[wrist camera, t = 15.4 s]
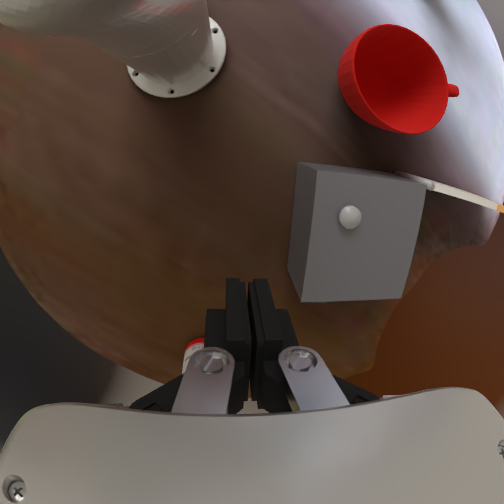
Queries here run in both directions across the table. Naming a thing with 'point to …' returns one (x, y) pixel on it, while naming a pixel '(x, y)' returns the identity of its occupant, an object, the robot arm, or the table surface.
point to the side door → (452, 191)
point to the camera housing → (352, 233)
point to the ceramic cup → (394, 80)
